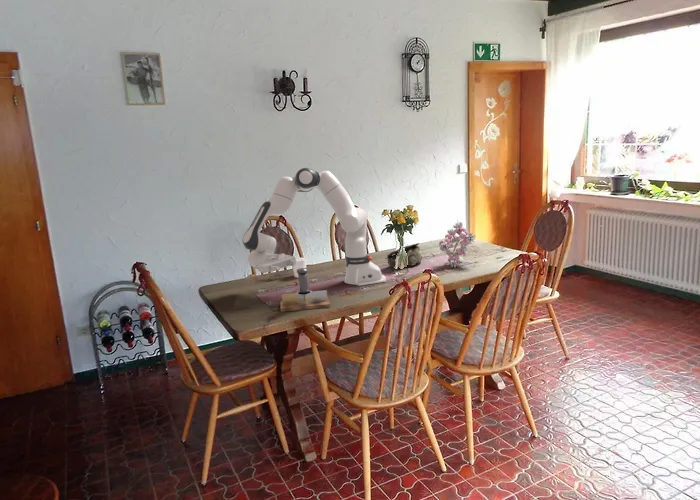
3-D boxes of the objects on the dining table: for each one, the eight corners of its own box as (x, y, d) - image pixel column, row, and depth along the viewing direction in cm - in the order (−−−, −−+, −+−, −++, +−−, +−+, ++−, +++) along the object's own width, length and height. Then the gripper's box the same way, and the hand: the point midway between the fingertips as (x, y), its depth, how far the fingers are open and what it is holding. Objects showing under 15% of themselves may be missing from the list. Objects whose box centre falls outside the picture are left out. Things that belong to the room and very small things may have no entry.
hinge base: (328, 299, 258) (328, 296, 258) (330, 307, 248) (330, 303, 247) (280, 304, 256) (280, 301, 255) (280, 311, 245) (280, 308, 245)
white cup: (291, 278, 300) (290, 261, 298) (295, 274, 307) (293, 257, 305) (305, 278, 299) (304, 260, 296) (308, 274, 306) (307, 257, 304)
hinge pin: (310, 300, 254) (307, 267, 250) (310, 303, 249) (307, 270, 246) (299, 301, 254) (296, 268, 250) (299, 304, 249) (296, 271, 245)
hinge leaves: (326, 297, 256) (325, 288, 255) (328, 303, 249) (327, 292, 248) (282, 302, 254) (281, 292, 253) (282, 307, 246) (281, 297, 245)
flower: (423, 260, 315) (433, 226, 300) (449, 250, 328) (460, 216, 313) (447, 280, 304) (459, 245, 289) (473, 268, 316) (485, 235, 301)
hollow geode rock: (390, 279, 304) (402, 263, 294) (377, 262, 308) (389, 246, 298) (421, 267, 322) (434, 252, 312) (409, 251, 327) (421, 235, 317)
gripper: (251, 261, 261) (267, 264, 251) (285, 252, 274) (302, 255, 264) (253, 273, 262) (269, 277, 252) (286, 264, 276) (303, 267, 266)
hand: (286, 266), depth 259 cm, fingers open, 8 cm apart
